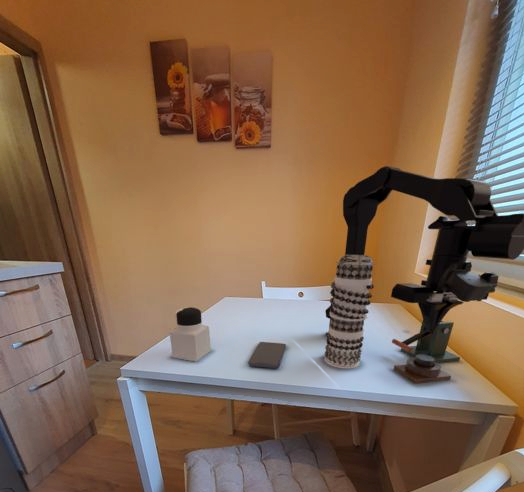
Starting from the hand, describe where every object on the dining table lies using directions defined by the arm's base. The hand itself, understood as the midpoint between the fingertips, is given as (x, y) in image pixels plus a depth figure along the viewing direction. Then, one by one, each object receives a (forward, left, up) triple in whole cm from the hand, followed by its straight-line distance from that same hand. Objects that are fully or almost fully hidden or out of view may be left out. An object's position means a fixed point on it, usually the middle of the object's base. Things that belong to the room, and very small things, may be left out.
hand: (429, 331), depth 60 cm
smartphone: (-31, +17, -10) cm, 37 cm away
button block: (0, -1, -10) cm, 10 cm away
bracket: (+10, +8, -10) cm, 16 cm away
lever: (+6, +8, -5) cm, 11 cm away
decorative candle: (-14, +10, -10) cm, 20 cm away
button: (0, -1, -7) cm, 7 cm away
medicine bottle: (-50, +22, -10) cm, 56 cm away
